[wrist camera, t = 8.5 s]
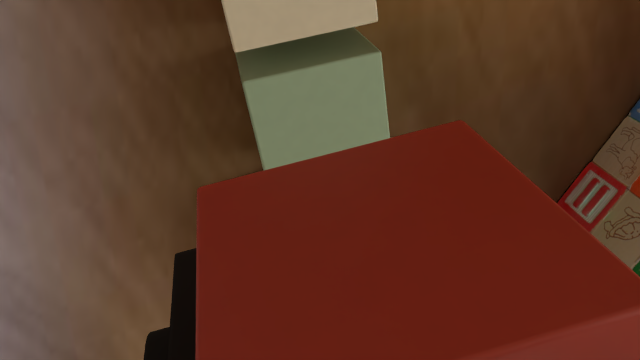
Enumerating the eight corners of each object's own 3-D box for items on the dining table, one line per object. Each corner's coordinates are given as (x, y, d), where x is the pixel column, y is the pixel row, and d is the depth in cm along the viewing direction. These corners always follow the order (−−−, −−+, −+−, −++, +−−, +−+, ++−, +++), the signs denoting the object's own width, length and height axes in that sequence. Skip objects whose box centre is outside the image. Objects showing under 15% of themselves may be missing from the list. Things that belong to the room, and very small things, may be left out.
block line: (283, 247, 28) (299, 313, 23) (193, -117, 19) (191, -119, 15) (374, 224, 28) (405, 285, 24) (325, -142, 19) (361, -150, 15)
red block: (261, 371, 12) (297, 646, 8) (195, 186, 9) (192, 443, 5) (470, 310, 12) (616, 539, 8) (462, 117, 10) (671, 301, 5)
